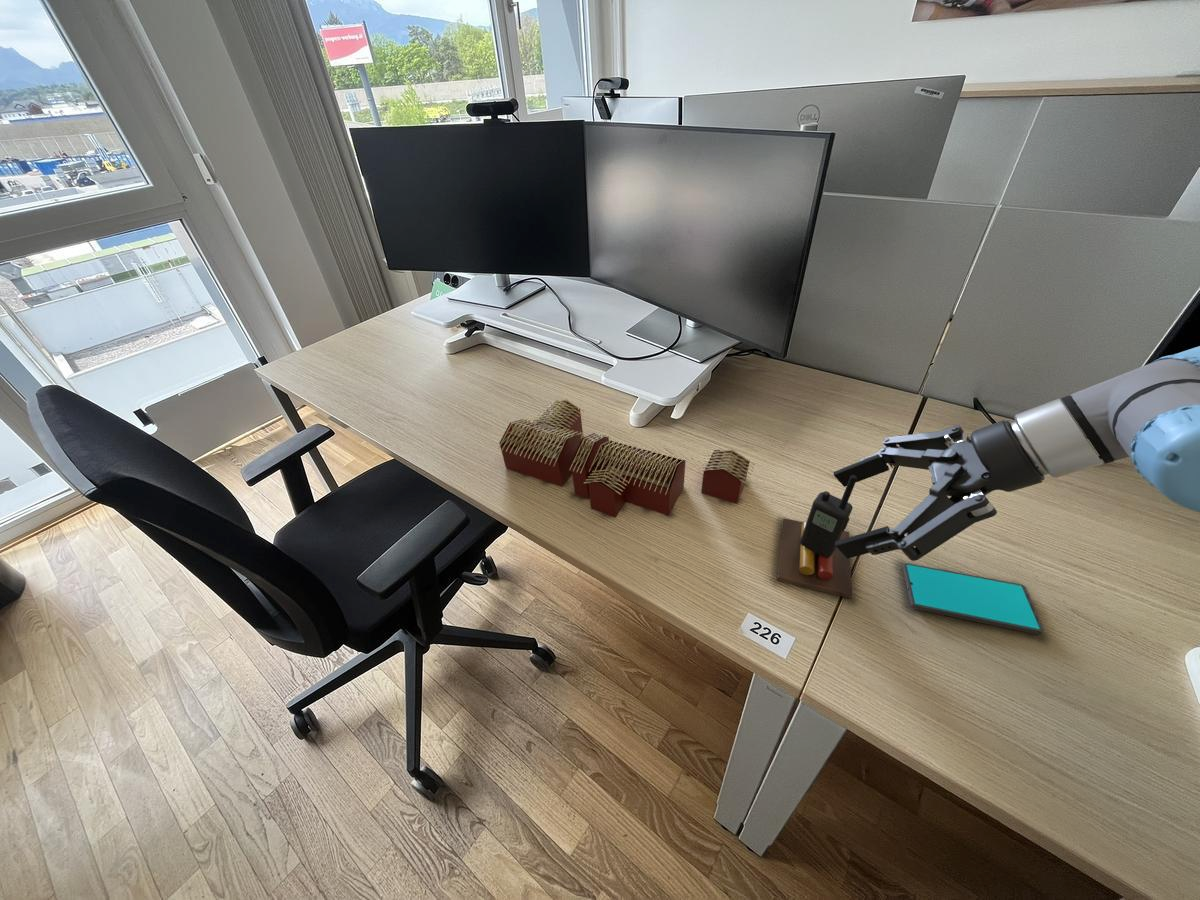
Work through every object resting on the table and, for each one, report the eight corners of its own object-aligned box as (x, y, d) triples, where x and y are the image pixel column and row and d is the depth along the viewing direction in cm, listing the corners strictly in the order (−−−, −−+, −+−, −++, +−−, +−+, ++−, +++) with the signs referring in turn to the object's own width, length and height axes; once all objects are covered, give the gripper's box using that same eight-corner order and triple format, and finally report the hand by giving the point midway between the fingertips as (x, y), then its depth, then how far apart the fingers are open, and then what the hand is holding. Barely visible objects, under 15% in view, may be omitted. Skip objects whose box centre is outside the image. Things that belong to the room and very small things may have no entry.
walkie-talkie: (798, 543, 70) (822, 471, 60) (807, 530, 72) (832, 458, 62) (830, 560, 67) (860, 488, 58) (839, 546, 69) (870, 473, 59)
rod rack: (847, 535, 74) (852, 523, 72) (850, 598, 66) (856, 587, 64) (782, 521, 77) (785, 509, 75) (776, 580, 69) (780, 568, 67)
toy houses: (497, 477, 90) (486, 437, 84) (552, 419, 104) (546, 380, 97) (725, 554, 73) (733, 511, 66) (755, 472, 87) (764, 430, 80)
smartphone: (1045, 632, 59) (913, 604, 63) (1041, 635, 60) (911, 608, 64) (1024, 584, 65) (903, 562, 69) (1021, 587, 65) (901, 565, 69)
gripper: (1091, 560, 42) (860, 604, 56) (1012, 407, 60) (851, 470, 74) (1053, 508, 40) (824, 568, 54) (983, 366, 58) (824, 439, 72)
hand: (839, 512), depth 64 cm, fingers open, 13 cm apart
